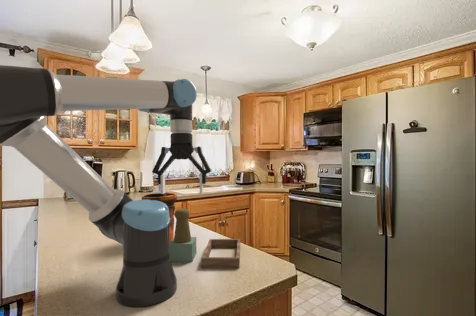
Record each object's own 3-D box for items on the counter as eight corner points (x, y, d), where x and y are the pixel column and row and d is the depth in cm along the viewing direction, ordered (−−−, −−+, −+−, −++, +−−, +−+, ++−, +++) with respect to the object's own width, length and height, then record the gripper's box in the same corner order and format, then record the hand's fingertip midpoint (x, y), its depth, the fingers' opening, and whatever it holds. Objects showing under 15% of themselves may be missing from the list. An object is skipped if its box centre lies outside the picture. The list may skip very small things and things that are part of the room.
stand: (192, 261, 91) (192, 244, 91) (168, 261, 91) (168, 244, 91) (196, 253, 99) (196, 236, 99) (174, 253, 99) (174, 237, 99)
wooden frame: (239, 267, 85) (239, 258, 85) (201, 267, 86) (201, 258, 85) (240, 246, 105) (240, 239, 105) (209, 246, 106) (209, 239, 105)
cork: (170, 241, 94) (169, 209, 94) (183, 236, 99) (183, 207, 99) (181, 244, 90) (180, 211, 90) (194, 240, 95) (194, 208, 95)
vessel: (170, 247, 104) (168, 196, 105) (136, 247, 107) (134, 197, 107) (183, 237, 119) (182, 191, 119) (153, 236, 121) (151, 192, 121)
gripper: (217, 133, 98) (218, 191, 98) (150, 134, 98) (150, 192, 99) (215, 131, 90) (216, 194, 90) (142, 132, 91) (143, 195, 91)
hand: (182, 193), depth 95 cm, fingers open, 13 cm apart
